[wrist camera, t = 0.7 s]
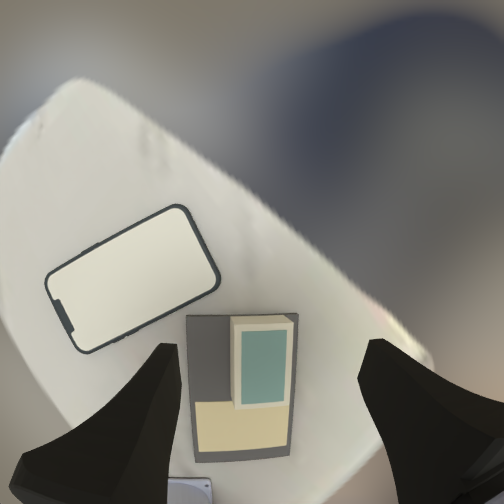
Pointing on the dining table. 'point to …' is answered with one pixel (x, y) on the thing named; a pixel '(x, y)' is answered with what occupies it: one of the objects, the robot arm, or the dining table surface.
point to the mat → (230, 399)
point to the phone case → (132, 279)
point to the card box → (260, 361)
